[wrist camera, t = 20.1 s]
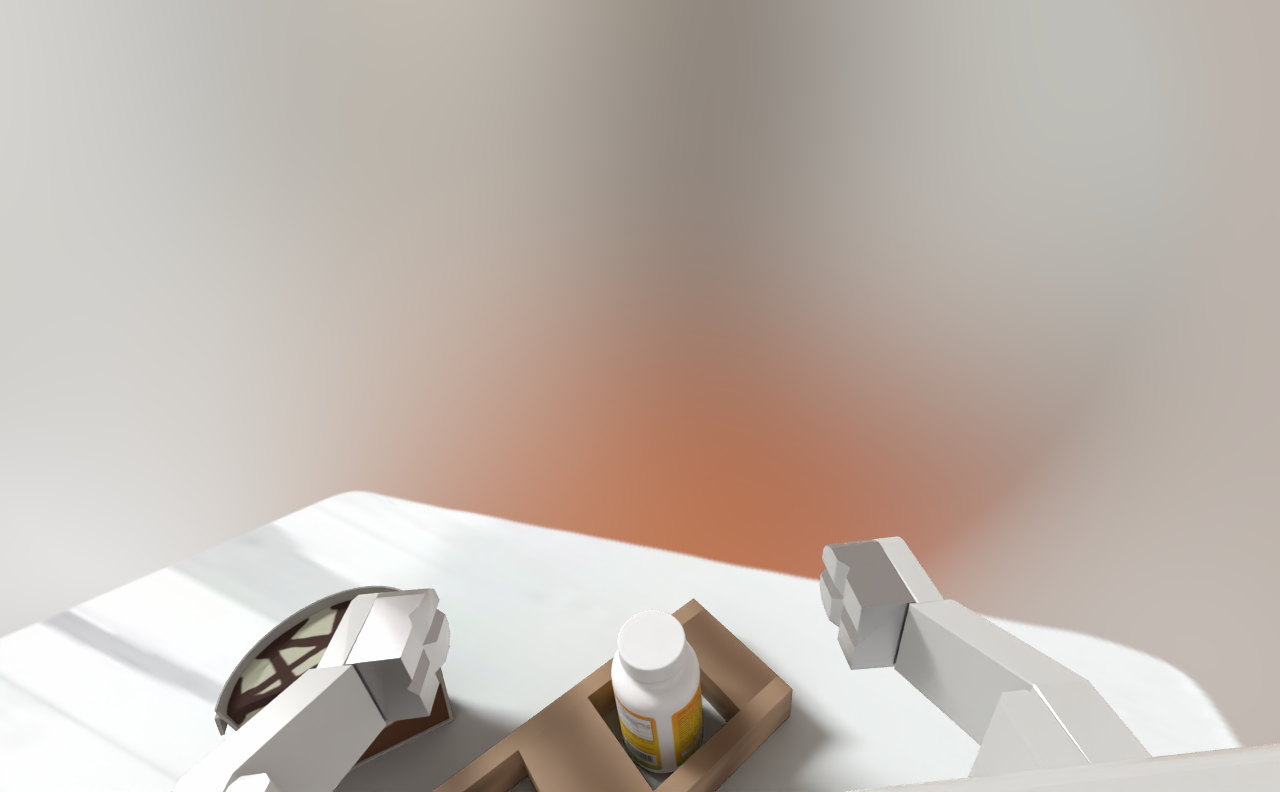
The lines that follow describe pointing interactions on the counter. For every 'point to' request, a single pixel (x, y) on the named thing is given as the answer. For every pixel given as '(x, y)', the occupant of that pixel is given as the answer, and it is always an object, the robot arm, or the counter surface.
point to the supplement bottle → (657, 691)
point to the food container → (301, 650)
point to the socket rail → (592, 756)
